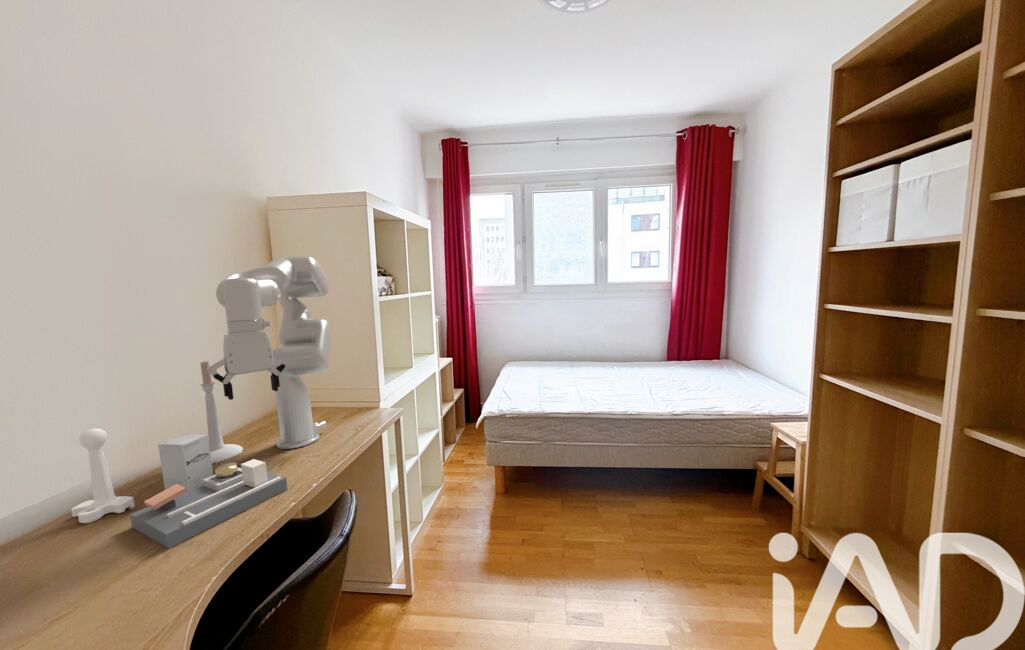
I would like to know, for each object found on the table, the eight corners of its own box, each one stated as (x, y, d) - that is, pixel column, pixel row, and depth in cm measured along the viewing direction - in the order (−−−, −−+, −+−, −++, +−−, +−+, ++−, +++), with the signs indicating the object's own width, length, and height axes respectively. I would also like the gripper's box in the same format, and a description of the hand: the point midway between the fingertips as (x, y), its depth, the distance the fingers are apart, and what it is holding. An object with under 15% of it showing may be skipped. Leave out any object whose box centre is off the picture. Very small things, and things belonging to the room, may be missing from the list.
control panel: (249, 476, 106) (246, 460, 106) (287, 489, 98) (285, 472, 98) (132, 527, 85) (128, 507, 85) (168, 548, 77) (165, 527, 77)
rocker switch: (178, 487, 91) (176, 483, 90) (187, 491, 89) (185, 487, 88) (145, 505, 86) (144, 501, 85) (154, 509, 83) (153, 505, 83)
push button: (231, 468, 101) (230, 461, 100) (241, 472, 98) (240, 464, 98) (212, 476, 97) (211, 469, 96) (221, 480, 95) (220, 472, 94)
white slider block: (256, 478, 98) (253, 458, 97) (268, 482, 96) (265, 462, 95) (243, 483, 95) (240, 464, 95) (255, 488, 93) (252, 467, 92)
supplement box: (187, 493, 99) (180, 445, 98) (164, 491, 101) (156, 444, 99) (215, 478, 106) (208, 433, 105) (192, 477, 108) (186, 432, 106)
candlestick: (179, 466, 115) (164, 366, 112) (213, 448, 128) (200, 357, 125) (223, 464, 115) (208, 363, 112) (252, 446, 128) (240, 355, 124)
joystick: (139, 503, 95) (126, 423, 93) (109, 522, 88) (94, 436, 86) (91, 507, 95) (76, 427, 93) (57, 526, 87) (40, 439, 85)
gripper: (280, 324, 108) (287, 385, 109) (200, 331, 96) (208, 400, 97) (288, 324, 102) (295, 389, 104) (204, 331, 90) (213, 405, 92)
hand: (253, 394), depth 100 cm, fingers open, 9 cm apart
